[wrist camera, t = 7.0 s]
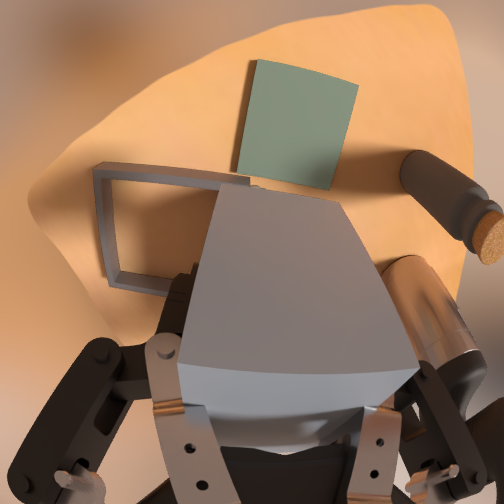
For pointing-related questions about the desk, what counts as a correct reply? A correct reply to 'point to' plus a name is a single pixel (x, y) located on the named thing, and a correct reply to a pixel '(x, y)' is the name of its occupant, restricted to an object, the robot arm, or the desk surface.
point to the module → (287, 323)
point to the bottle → (456, 204)
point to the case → (152, 175)
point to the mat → (295, 124)
